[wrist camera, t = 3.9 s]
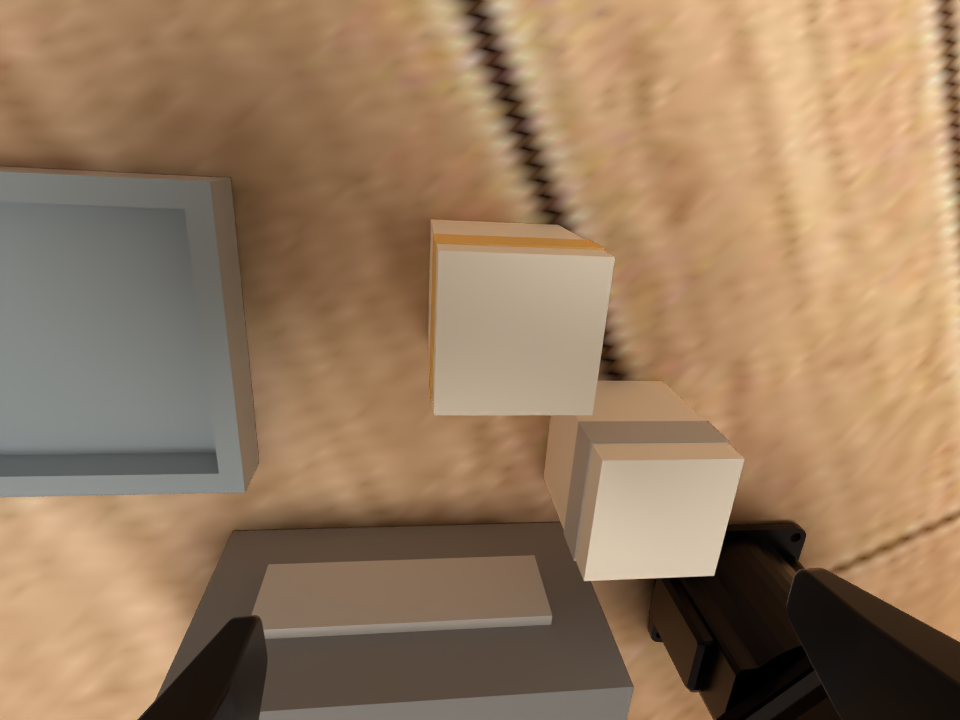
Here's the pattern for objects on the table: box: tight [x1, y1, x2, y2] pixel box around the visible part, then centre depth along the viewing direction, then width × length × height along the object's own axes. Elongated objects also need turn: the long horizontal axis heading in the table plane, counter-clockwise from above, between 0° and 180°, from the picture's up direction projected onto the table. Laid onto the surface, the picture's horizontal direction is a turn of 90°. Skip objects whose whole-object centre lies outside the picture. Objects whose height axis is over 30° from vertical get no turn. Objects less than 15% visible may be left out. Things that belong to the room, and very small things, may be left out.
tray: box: [0, 166, 259, 497], centre depth 18 cm, size 11×11×2 cm
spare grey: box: [543, 381, 745, 581], centre depth 20 cm, size 5×5×6 cm
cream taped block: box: [428, 219, 615, 415], centre depth 17 cm, size 5×5×6 cm
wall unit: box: [156, 522, 634, 720], centre depth 21 cm, size 14×8×8 cm, turn 87°
